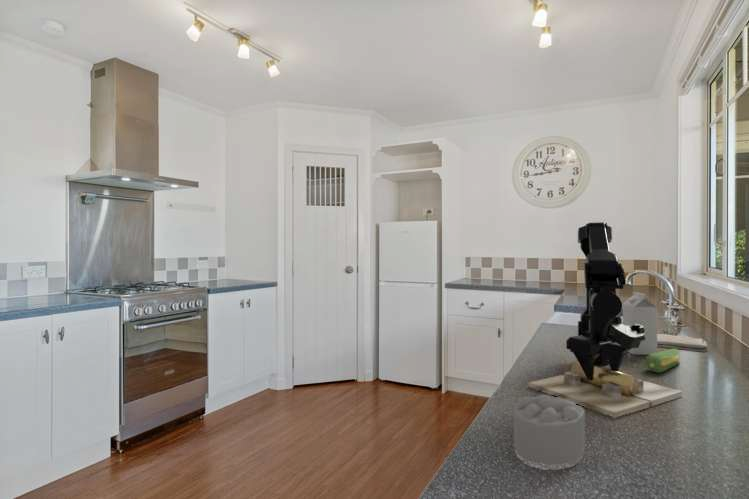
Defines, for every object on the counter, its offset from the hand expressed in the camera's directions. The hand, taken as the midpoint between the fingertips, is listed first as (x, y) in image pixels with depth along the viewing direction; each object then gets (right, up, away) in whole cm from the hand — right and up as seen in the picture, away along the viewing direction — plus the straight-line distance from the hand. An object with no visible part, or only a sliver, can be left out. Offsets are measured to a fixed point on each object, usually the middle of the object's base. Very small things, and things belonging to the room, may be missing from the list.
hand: (602, 376), depth 103 cm
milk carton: (+31, -3, +36) cm, 47 cm away
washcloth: (+48, -3, +45) cm, 66 cm away
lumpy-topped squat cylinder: (-25, -5, -29) cm, 39 cm away
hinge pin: (0, -2, 0) cm, 2 cm away
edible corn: (+28, -3, +20) cm, 34 cm away
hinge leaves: (0, -4, 0) cm, 4 cm away
